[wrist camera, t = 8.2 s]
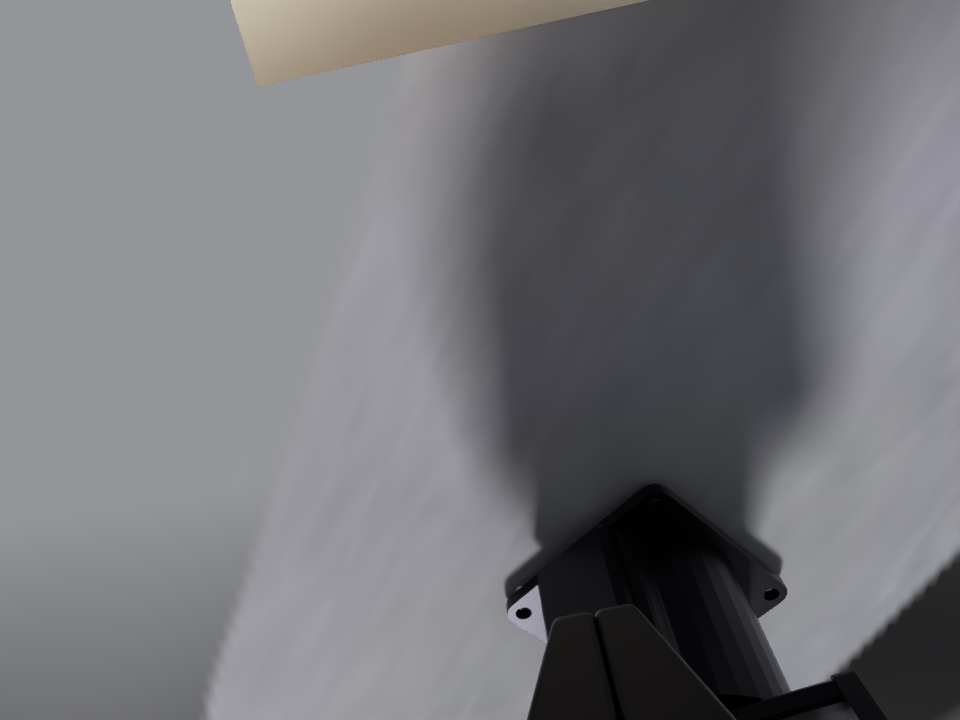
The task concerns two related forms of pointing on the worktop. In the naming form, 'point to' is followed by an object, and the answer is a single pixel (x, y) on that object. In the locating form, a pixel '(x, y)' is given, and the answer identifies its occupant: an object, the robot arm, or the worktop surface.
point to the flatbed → (379, 28)
